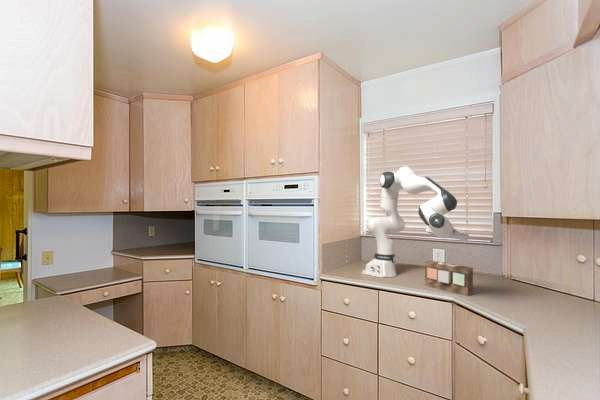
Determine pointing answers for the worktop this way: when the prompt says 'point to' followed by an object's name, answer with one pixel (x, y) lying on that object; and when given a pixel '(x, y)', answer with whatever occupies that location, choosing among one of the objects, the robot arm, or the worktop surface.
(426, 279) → the keypad console
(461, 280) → the key right
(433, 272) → the key left
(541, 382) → the worktop surface
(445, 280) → the key middle
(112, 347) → the worktop surface
